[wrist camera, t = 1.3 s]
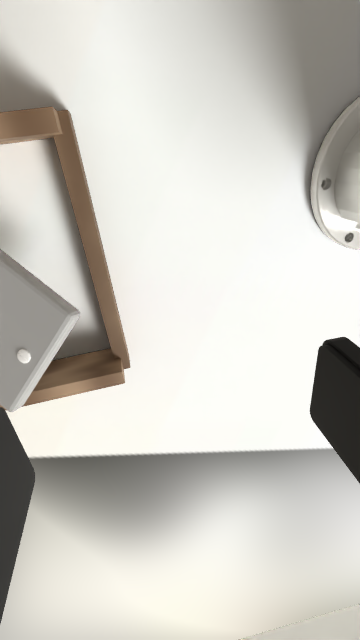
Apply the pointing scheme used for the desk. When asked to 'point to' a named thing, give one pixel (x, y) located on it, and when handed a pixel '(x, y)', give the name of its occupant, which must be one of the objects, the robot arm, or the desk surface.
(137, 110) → the desk surface
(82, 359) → the walnut open frame
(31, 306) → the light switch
